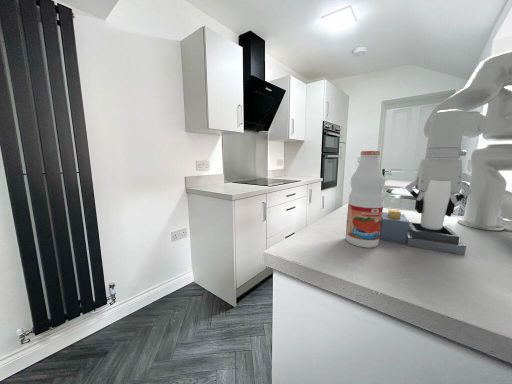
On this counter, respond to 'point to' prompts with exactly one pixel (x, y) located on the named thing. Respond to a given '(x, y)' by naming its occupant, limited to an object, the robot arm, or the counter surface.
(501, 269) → the counter surface
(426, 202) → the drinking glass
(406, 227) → the grey tray
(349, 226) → the fruit juice
